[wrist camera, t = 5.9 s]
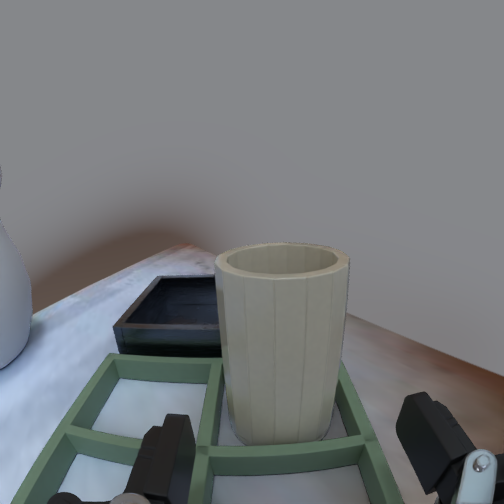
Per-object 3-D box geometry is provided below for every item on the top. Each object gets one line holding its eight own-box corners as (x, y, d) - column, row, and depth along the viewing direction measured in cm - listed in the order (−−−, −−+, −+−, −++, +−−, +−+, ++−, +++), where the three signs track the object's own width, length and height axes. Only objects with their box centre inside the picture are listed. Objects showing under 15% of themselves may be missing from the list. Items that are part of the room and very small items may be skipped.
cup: (320, 384, 21) (330, 240, 18) (340, 448, 14) (369, 273, 12) (232, 389, 21) (221, 244, 18) (228, 456, 14) (206, 280, 12)
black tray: (270, 303, 36) (269, 272, 35) (279, 368, 23) (280, 326, 22) (161, 305, 36) (157, 275, 35) (122, 366, 23) (112, 326, 22)
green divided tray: (335, 371, 22) (337, 351, 22) (411, 582, 4) (430, 572, 4) (114, 372, 22) (109, 352, 22) (17, 546, 4) (-5, 530, 4)
